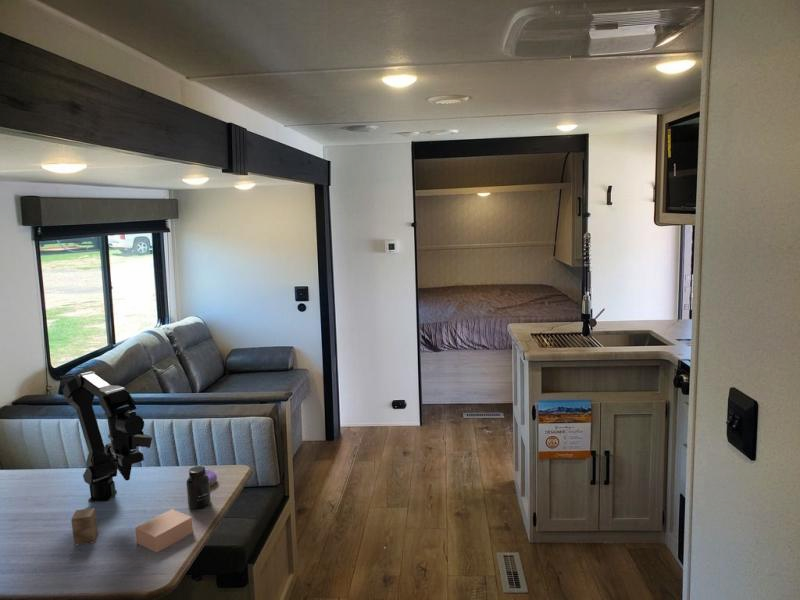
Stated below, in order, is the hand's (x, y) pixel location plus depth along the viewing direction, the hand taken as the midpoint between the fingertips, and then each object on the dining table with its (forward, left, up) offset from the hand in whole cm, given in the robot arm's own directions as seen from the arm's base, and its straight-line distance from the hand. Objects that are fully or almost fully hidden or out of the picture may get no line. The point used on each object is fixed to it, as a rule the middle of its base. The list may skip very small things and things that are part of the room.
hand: (127, 479), depth 187 cm
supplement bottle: (+19, +6, -12) cm, 23 cm away
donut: (+15, +20, -12) cm, 28 cm away
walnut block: (-7, -13, -12) cm, 19 cm away
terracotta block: (+12, -10, -9) cm, 18 cm away
